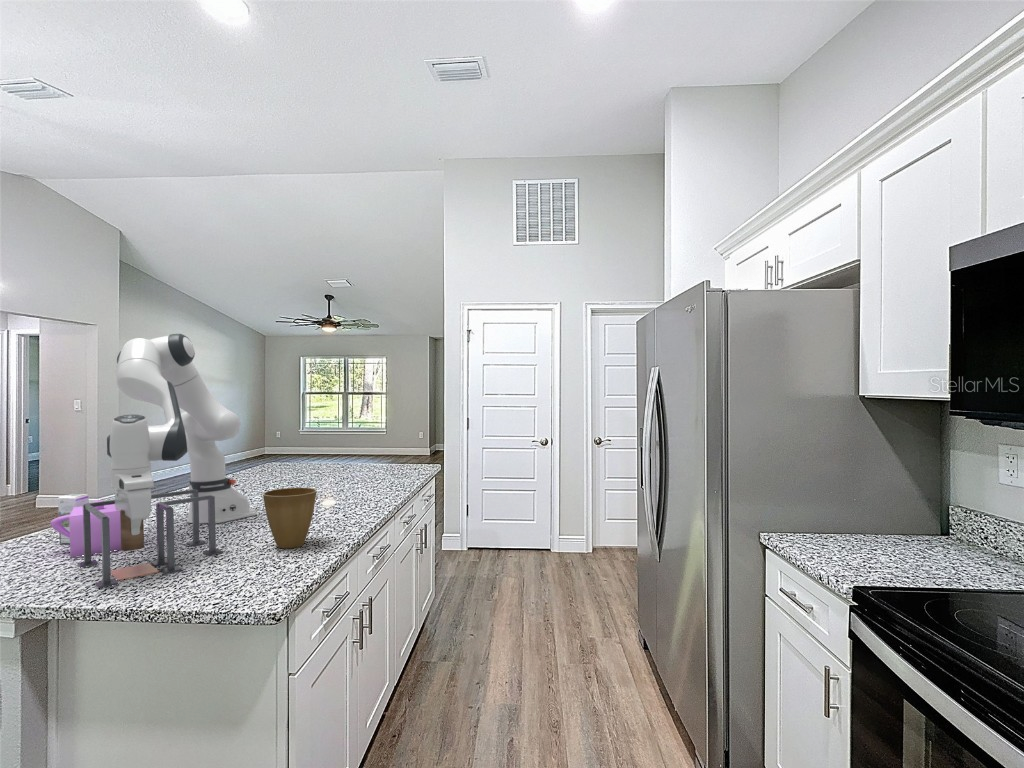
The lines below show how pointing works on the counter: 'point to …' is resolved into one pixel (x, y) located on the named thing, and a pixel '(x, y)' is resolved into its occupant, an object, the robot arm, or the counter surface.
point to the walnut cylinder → (127, 539)
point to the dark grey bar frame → (160, 533)
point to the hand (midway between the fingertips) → (132, 532)
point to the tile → (134, 571)
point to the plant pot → (290, 514)
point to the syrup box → (69, 510)
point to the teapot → (95, 523)
